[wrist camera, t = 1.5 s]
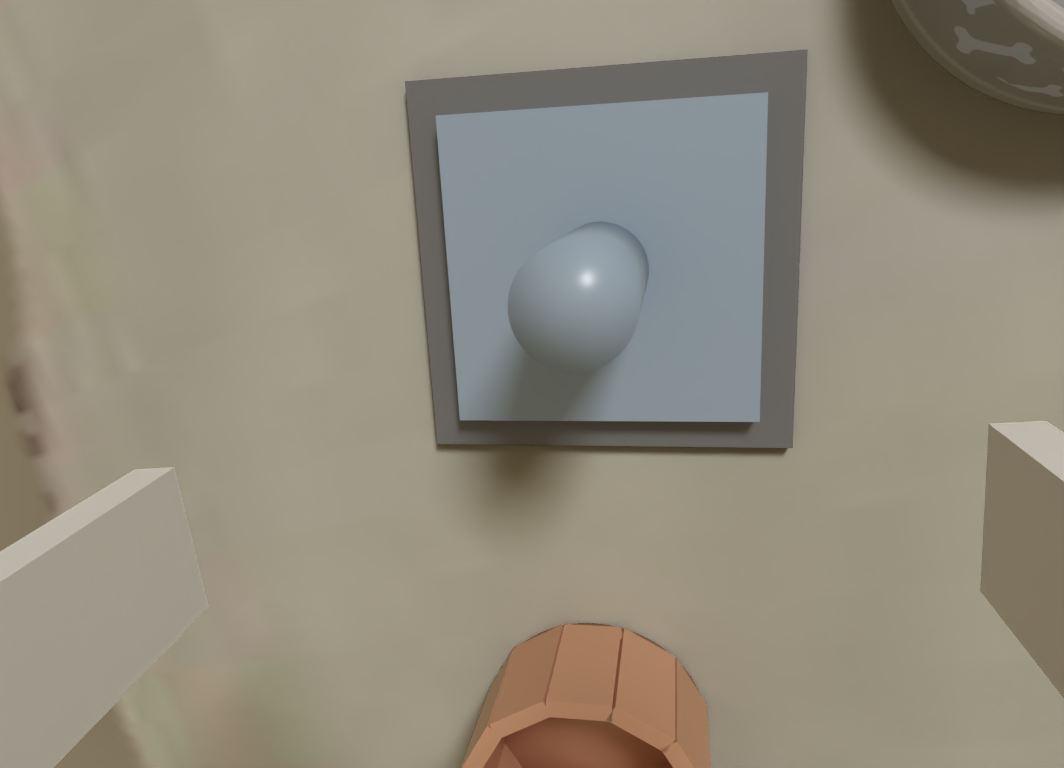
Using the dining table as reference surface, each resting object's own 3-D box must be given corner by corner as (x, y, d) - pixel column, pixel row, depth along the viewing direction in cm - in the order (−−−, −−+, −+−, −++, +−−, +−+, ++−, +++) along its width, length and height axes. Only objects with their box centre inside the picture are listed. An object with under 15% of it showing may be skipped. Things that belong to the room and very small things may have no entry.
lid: (765, 94, 30) (806, 61, 21) (757, 414, 33) (789, 512, 24) (442, 116, 32) (345, 96, 23) (465, 413, 36) (389, 502, 26)
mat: (804, 52, 30) (807, 49, 29) (790, 443, 34) (792, 448, 34) (409, 82, 33) (405, 81, 32) (440, 439, 37) (437, 443, 36)
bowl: (707, 629, 37) (713, 712, 32) (706, 817, 40) (710, 924, 34) (484, 617, 39) (452, 693, 34) (498, 797, 42) (470, 895, 36)
